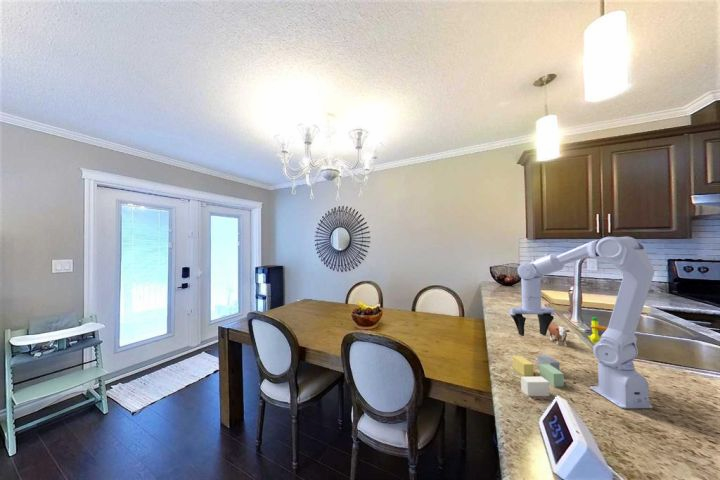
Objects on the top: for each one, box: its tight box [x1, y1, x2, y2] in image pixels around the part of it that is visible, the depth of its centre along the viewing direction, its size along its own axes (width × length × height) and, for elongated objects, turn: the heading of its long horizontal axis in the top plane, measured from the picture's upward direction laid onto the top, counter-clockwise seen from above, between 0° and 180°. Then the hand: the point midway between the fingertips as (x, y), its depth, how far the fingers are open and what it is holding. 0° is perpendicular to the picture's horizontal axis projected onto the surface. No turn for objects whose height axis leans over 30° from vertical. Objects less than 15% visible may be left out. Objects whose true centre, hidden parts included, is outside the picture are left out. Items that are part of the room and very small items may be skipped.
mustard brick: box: [512, 355, 535, 377], centre depth 85 cm, size 6×3×4 cm, turn 179°
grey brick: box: [536, 354, 560, 371], centre depth 86 cm, size 6×3×4 cm, turn 179°
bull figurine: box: [547, 322, 570, 348], centre depth 108 cm, size 4×13×8 cm, turn 163°
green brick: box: [539, 364, 565, 388], centre depth 79 cm, size 6×3×4 cm, turn 179°
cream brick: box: [520, 375, 550, 397], centre depth 73 cm, size 6×3×4 cm, turn 89°
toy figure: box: [587, 316, 608, 345], centre depth 103 cm, size 7×4×12 cm, turn 43°
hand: (532, 334), depth 91 cm, fingers open, 7 cm apart
